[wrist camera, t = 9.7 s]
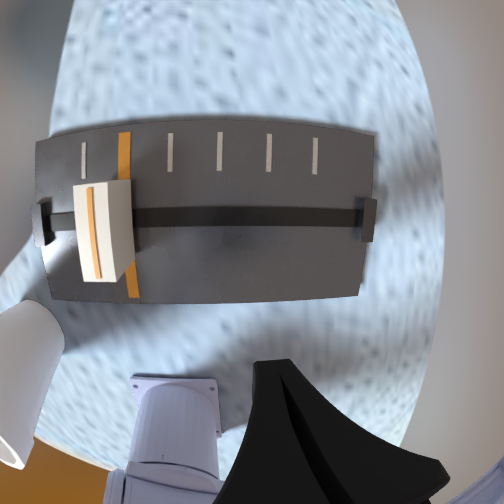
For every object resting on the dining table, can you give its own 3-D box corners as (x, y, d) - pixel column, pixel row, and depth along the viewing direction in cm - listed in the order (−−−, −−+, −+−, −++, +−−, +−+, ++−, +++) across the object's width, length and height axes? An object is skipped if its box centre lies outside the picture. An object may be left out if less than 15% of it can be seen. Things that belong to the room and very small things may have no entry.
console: (351, 289, 21) (362, 300, 19) (58, 293, 18) (47, 304, 16) (365, 137, 18) (380, 135, 16) (44, 142, 14) (29, 141, 12)
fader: (135, 258, 16) (115, 282, 12) (107, 258, 16) (83, 282, 12) (130, 178, 15) (106, 182, 11) (101, 181, 14) (72, 185, 11)
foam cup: (69, 292, 18) (-22, 400, 6) (88, 377, 20) (45, 484, 8) (-4, 277, 16) (-88, 346, 4) (19, 356, 19) (-35, 435, 7)
